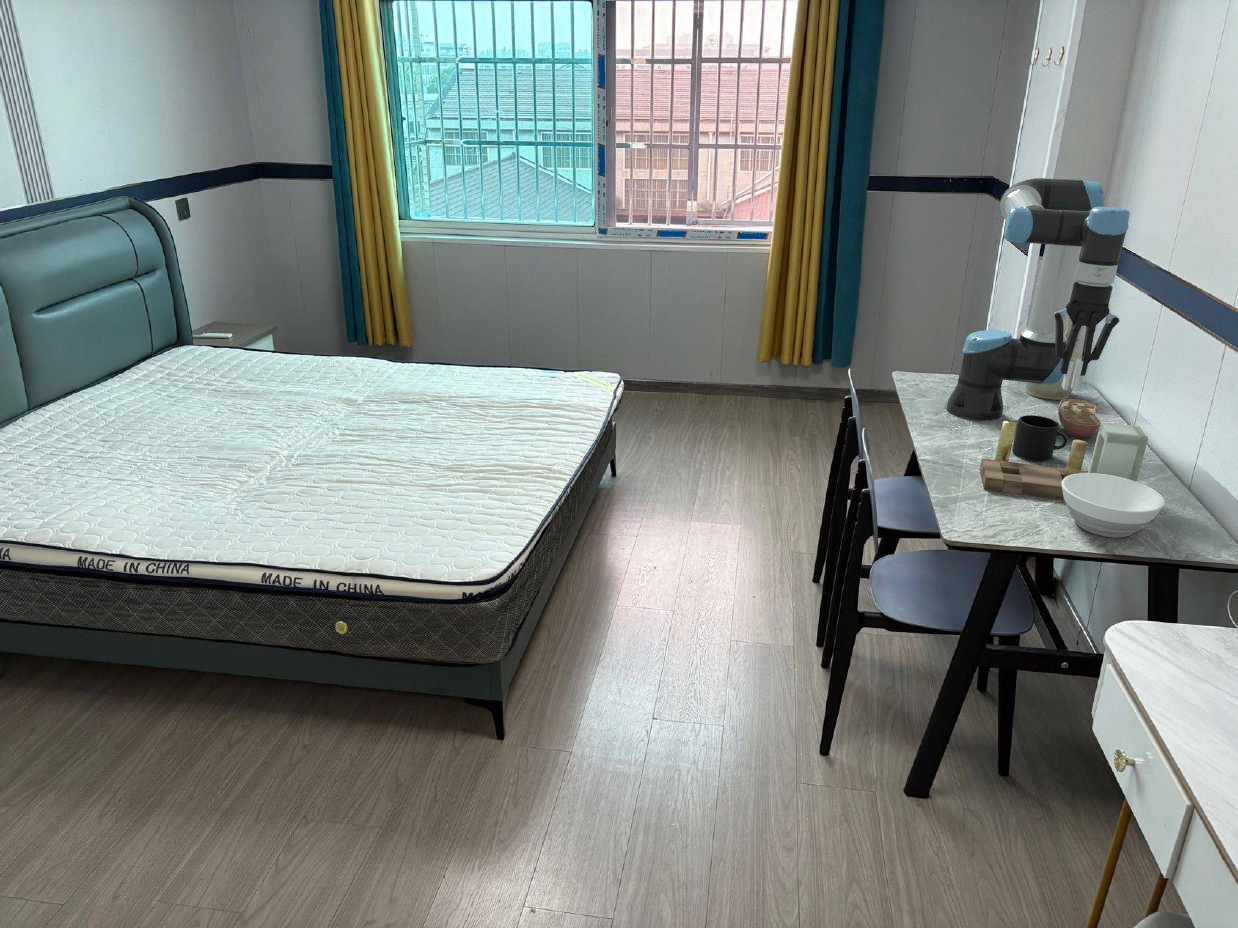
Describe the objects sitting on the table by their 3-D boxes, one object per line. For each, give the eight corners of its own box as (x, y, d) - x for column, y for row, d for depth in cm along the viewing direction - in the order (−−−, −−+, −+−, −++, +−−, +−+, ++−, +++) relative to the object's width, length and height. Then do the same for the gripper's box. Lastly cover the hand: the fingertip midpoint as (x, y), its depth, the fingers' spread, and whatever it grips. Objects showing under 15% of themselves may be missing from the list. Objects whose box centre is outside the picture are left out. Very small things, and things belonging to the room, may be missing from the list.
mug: (1063, 466, 222) (1071, 432, 218) (1011, 457, 226) (1018, 424, 223) (1062, 453, 230) (1070, 420, 226) (1012, 445, 234) (1019, 412, 231)
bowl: (1082, 548, 182) (1092, 511, 179) (1036, 506, 200) (1044, 472, 197) (1175, 548, 183) (1186, 511, 180) (1121, 506, 201) (1130, 472, 198)
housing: (1088, 473, 210) (1100, 422, 205) (1125, 477, 208) (1139, 426, 203) (1094, 486, 202) (1108, 434, 197) (1133, 491, 201) (1148, 438, 196)
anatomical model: (1097, 445, 236) (1102, 427, 234) (1056, 439, 240) (1060, 421, 238) (1091, 418, 256) (1095, 401, 254) (1053, 413, 259) (1056, 396, 257)
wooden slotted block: (979, 469, 218) (988, 423, 214) (1114, 486, 211) (1127, 439, 206) (983, 489, 208) (993, 441, 203) (1126, 507, 200) (1139, 458, 196)
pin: (993, 464, 221) (1002, 419, 217) (1006, 466, 221) (1015, 420, 216) (994, 469, 219) (1003, 423, 214) (1007, 471, 218) (1017, 424, 213)
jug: (1058, 386, 283) (1076, 307, 273) (1084, 402, 269) (1104, 320, 259) (1011, 385, 282) (1027, 307, 272) (1034, 402, 268) (1052, 319, 258)
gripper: (1060, 283, 189) (1037, 390, 198) (1134, 289, 186) (1107, 397, 195) (1054, 277, 196) (1032, 380, 205) (1126, 282, 192) (1100, 387, 202)
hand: (1069, 388), depth 200 cm, fingers closed
